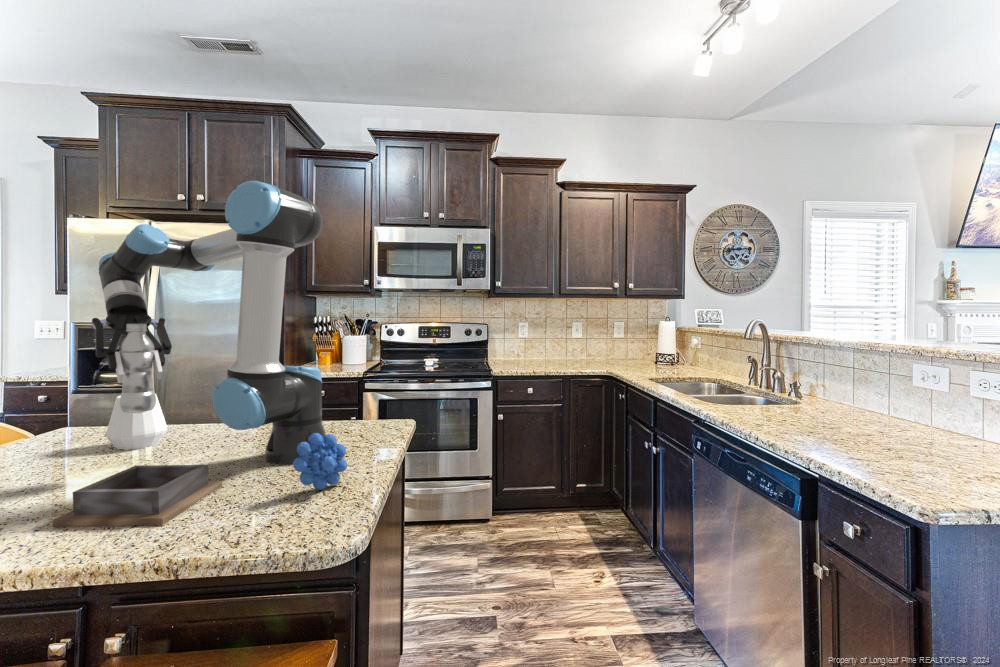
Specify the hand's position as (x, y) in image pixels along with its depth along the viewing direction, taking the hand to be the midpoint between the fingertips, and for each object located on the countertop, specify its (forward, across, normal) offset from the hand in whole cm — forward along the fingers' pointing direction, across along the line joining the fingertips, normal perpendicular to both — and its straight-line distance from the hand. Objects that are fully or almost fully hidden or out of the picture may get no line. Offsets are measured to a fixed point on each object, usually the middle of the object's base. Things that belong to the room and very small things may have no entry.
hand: (140, 376), depth 101 cm
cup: (-8, -4, -40) cm, 41 cm away
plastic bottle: (+4, 0, -9) cm, 9 cm away
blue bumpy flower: (+42, -24, +10) cm, 49 cm away
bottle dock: (+29, +3, -2) cm, 29 cm away
